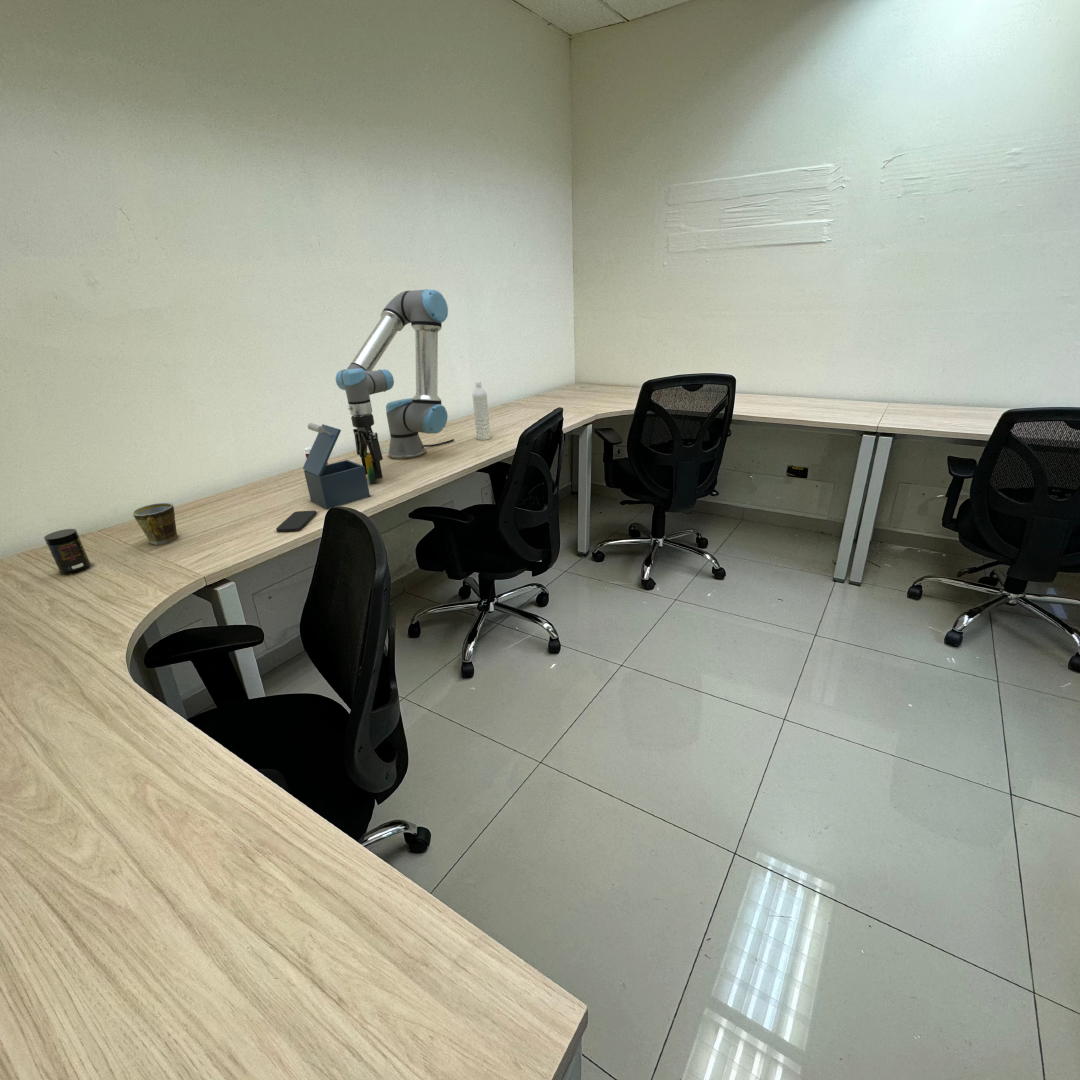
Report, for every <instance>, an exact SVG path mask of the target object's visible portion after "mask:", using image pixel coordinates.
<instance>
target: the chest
mask: <svg viewBox="0 0 1080 1080" xmlns="http://www.w3.org/2000/svg"><path fill="white" fill-rule="evenodd" d="M303 473H304V478H305V482H306V486H307V490H308V494H309V498H310V502H312V503H315V504H316V505H318V506H320V507H322V508H324V509H326V510H329V509H333V508H336V507H339V506H342V505H345V504H349V503H353V502H355V501H356V502H357V501H359V500H362V499H365V498H369V497H371V495H370V494H371V493H370V488H369V484H368V483H369V482H368V476H367V475H366V472H365V467H364V466H363V465H362V464H360V463H358V462H355V461H352V460H349V459H345V460H339V461H336V462H332V463H328V465H326V466H325V468H324V470H323V472H322V475H321V477H320V476H317V475H315V474H313V473H311V472H308V471H306V470H304V469H303ZM335 506H336V507H335ZM332 507H333V508H332Z"/></svg>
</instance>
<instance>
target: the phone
mask: <svg viewBox="0 0 1080 1080" xmlns="http://www.w3.org/2000/svg"><path fill="white" fill-rule="evenodd" d="M316 515H317V511H316V510H298V511H294V512H292V513H291V514H290V515H289V516H288V517H287V518H286V519H285V520H284V521H282V522H281V523H280V524H279V525H278V526H277V527H276V528H275V529H276V530H275V531H276V532H295V531H297V532H298V531H300V530H302V528H304V527H305V526H306V524H308V523H309V521H311V520H312V518H314V517H315V516H316Z"/></svg>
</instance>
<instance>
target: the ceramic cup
mask: <svg viewBox="0 0 1080 1080" xmlns="http://www.w3.org/2000/svg"><path fill="white" fill-rule="evenodd" d="M132 515H133V518H134V519H135V521H136V522H137V525H139V527H140V528H141V530H142V532H143V533H144V535H145V536H146V539H148V541H149V542H150V544H152V545H155V546H161V545H165V544H166V545H167V544H169V543H171V542H173V541H175V540H177V537H178V530H177V524H176V523H177V522H176V513H175V507H174V503H171V502H157V503H151V504H147V505H145V506H142V507H139V508H136V509H135V510H133V512H132Z"/></svg>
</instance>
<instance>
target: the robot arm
mask: <svg viewBox="0 0 1080 1080" xmlns="http://www.w3.org/2000/svg"><path fill="white" fill-rule="evenodd" d="M448 314H449V308H448V302H447V300H446V298H445V297H444V295H443V294H442V293H441V292H440V291H438V290H436V289H429V288H428V289H427V288H426V289H415V290H404V291H401V292H400V293H398V294H396V295H395V296H394V297H393V298H392V299H391V300H390V301H389V302H388V303H386V306H385V307H384V308H383V309H382V311H381V313H380V314H379V315H380V319H379V321H378V322H377V324H376V325H375V326H374V328H373V330H372V331H371V332H370V334H369V335H368V337H367V338H366V340H365V341H364V343H363V345H362V346H361V347H360V349H359V350H358V352H357V353H356V355H355V356H354V358H353V359H352V361H351V362H350V364H349V365H348V367H347V368H346V369H345V368H344V369H340V370H339V371H338V372H336V375H335V384H336V385H337V387H338V388H339V389H340V390H341V391H345V395H346V398H347V403H348V409H347V410H349V414H350V415H351V418H350V420H351V424H352V427H353V429H352V431H353V435H354V441H355V451H356V454H357V456H359V458H360V460H361V465H362V466H364V467H365V472H366V476H368V474H367V468H366V462H365V457H364V452H365V450H366V448H367V450H368V451H369V453H370V454H371V457H372V459H373V461H371V462H372V465H373V470H374V476H375V479H378V480H379V479H383V472H382V466H381V461H383V459H384V457H383V453H382V450H381V445H380V442H379V435H378V433H377V432H374V431H373V428H372V426H374V425H375V419H374V414H373V408H372V403H371V402H372V401H371V398H370V397H371V396H372V395H375V394H379V393H383V392H384V393H386V392H387V391H389V390H392V389H393V386H394V385H395V380H394V375H393V374H392V373H391V371H390V370H388V369H385V368H383V369H378V370H374V369H375V367H376V365H377V363H378V362H379V361H380V359H381V357H382V356H383V355H384V353H385V351H386V350H387V348H388V347H389V345H390V344H391V342H392V341H393V339H394V338H395V337H396V335H397V333H398V332H400V331H402V330H403V329H404V327H406V326H407V325H409V324H410V326H411V328H412V329H413V330H414V333H415V334H414V335H415V338H414V339H415V341H414V342H415V395H414V396H413V397H411V398H410V397H409V398H403V399H397V400H392V401H390V402H387V403H386V405H385V411H386V412H385V414H386V419H387V424H388V430H389V435H390V436H389V437H390V442H389V446H388V447H389V448H388V456H389V458H390V459H393V460H408V459H415V458H419V457H422V456H423V455H425V454H426V448H431V447H437V446H442V445H445V444H449V443H451V442H455V439H454V438H452V439H449V440H446V441H442V442H439V443H435V444H424V443H423V442H422V440H421V437H420V435H419V433H422V434H426V435H428V434H431V435H432V434H438V433H441V432H442V431H443V430H444V428H445V427H446V425H447V424H448V423H447V422H448V417H449V416H448V411H447V408H446V407H445V406H444V405H443V404H442V399H441V398H440V396H439V394H438V391H439V390H438V388H439V387H438V385H439V384H438V383H439V382H438V381H439V376H438V373H439V371H438V367H439V365H438V363H439V362H438V361H439V360H438V359H439V357H438V355H439V353H438V351H439V350H438V349H439V348H438V347H439V344H438V343H439V341H438V340H439V339H438V337H439V336H438V333H439V332H440V331H441V330H442V326H443V325H442V323H444V322H445V321H446V320H447V318H448V316H449V315H448ZM365 454H366V452H365Z"/></svg>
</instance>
